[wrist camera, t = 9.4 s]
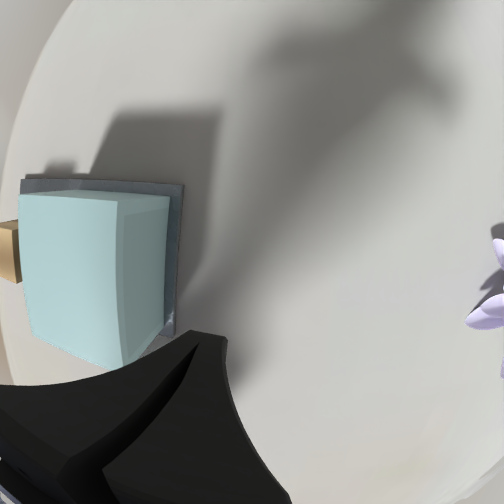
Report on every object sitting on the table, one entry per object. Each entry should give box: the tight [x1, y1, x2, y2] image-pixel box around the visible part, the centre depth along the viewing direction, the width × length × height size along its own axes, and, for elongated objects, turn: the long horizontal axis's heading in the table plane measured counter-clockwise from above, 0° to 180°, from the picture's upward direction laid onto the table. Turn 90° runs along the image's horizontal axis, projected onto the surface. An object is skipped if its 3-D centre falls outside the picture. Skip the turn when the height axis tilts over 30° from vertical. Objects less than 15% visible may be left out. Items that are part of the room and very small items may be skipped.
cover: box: [18, 190, 170, 371], centre depth 15 cm, size 8×9×6 cm
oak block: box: [0, 219, 23, 284], centre depth 17 cm, size 4×4×5 cm
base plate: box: [20, 179, 184, 338], centre depth 17 cm, size 17×11×4 cm, turn 82°
